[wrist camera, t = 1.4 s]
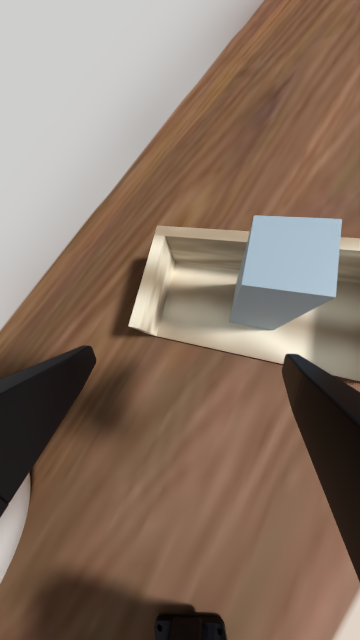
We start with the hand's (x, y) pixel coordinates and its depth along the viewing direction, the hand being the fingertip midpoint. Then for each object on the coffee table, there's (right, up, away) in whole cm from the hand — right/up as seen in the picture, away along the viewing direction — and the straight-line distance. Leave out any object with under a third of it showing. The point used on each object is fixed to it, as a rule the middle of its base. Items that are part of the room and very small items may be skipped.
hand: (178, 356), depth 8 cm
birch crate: (+9, +3, +14) cm, 17 cm away
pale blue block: (+9, +3, +13) cm, 16 cm away
